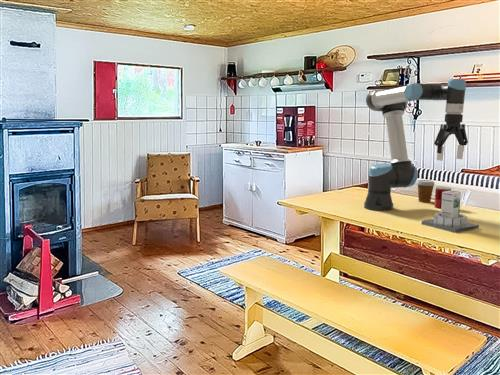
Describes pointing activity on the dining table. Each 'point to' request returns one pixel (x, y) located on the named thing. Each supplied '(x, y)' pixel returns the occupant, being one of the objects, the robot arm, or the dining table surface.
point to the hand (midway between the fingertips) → (449, 159)
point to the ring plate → (449, 228)
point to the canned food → (440, 195)
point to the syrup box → (450, 204)
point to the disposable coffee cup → (425, 190)
